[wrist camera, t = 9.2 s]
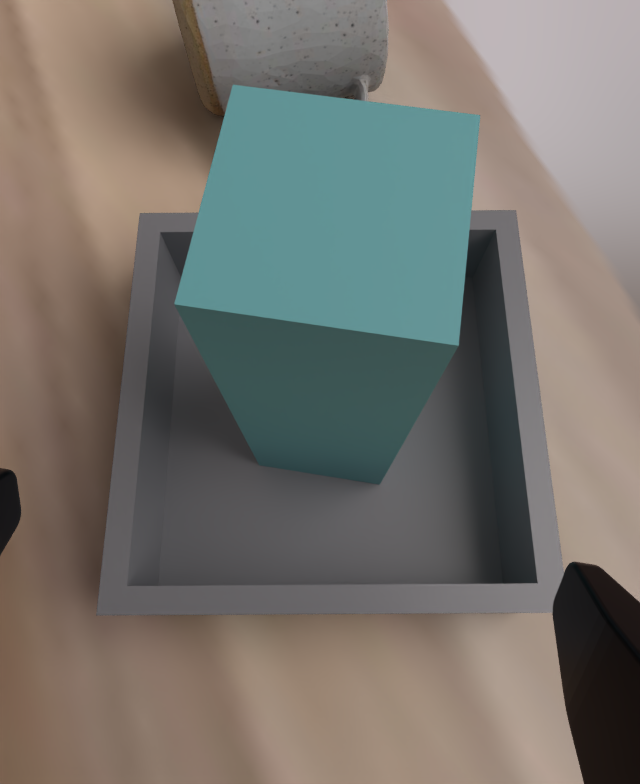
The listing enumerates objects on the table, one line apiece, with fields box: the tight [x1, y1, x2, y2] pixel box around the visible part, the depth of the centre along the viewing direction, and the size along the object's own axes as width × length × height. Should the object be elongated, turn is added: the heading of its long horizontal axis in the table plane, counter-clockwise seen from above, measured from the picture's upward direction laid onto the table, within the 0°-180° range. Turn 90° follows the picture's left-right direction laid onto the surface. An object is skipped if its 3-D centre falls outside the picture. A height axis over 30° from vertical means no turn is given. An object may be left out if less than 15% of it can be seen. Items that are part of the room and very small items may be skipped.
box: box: [96, 210, 564, 615], centre depth 21 cm, size 14×14×4 cm
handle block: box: [174, 85, 480, 485], centre depth 16 cm, size 4×4×13 cm
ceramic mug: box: [173, 0, 389, 116], centre depth 24 cm, size 11×8×8 cm
